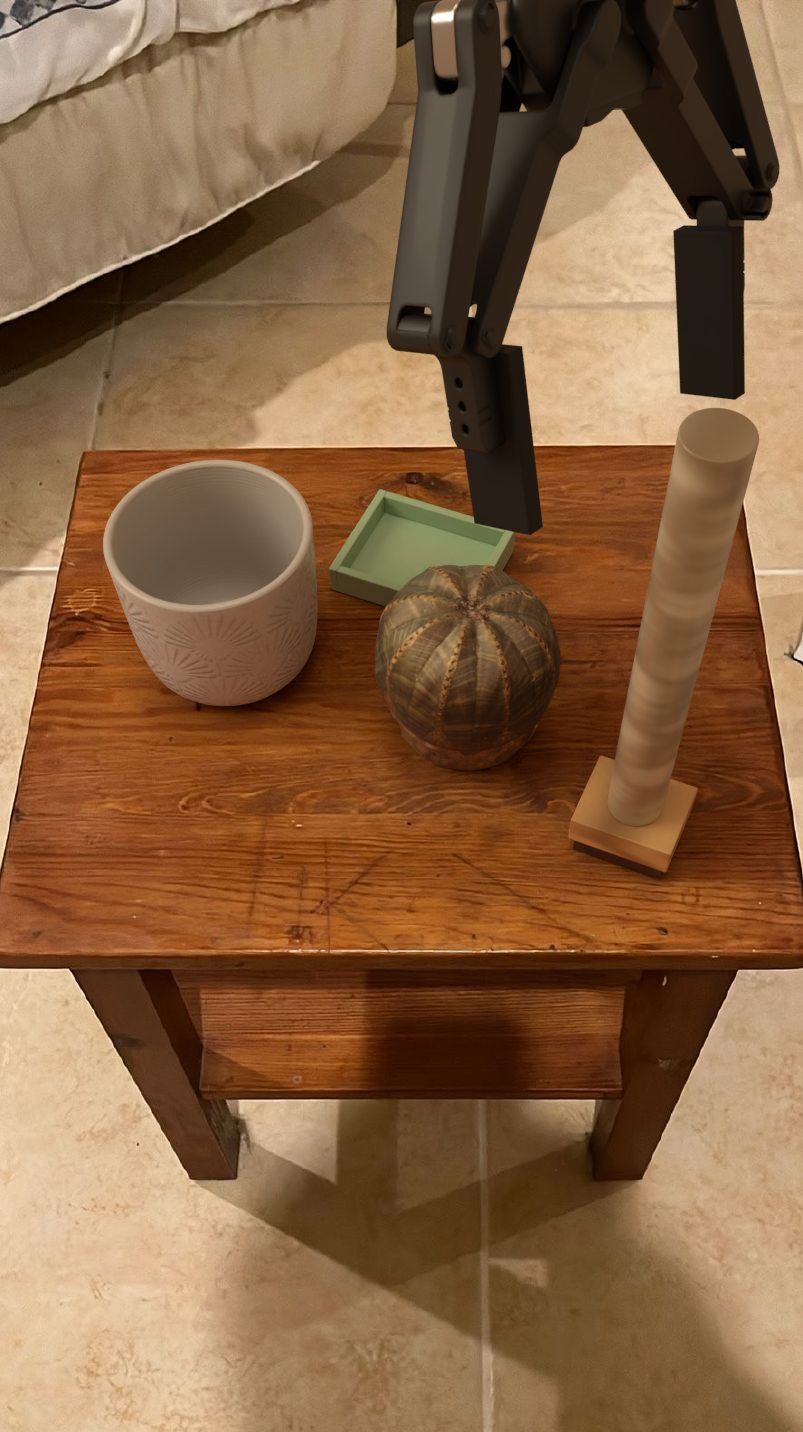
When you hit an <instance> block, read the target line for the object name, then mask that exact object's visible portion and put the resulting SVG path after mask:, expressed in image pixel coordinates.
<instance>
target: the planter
mask: <svg viewBox="0 0 803 1432" xmlns="http://www.w3.org/2000/svg"><path fill="white" fill-rule="evenodd" d="M313 529H314V528H313V519H312V514H311V511H310V509H309V506H308V504H307V502H306V500H305V498H304V497H303V496H302V493H300V491H299V490H298V489H297V487H295V486H294V485H293V484H291V482H290V481H288V480H287V479H286V478H284V477H282V476H281V475H279V474H278V473H276V472H274V471H272V470H271V469H268V468H265V467H263V466H260V465H257V464H254V463H250V462H246V461H241V460H233V459H204V460H203V459H202V460H196V461H191V462H186V463H182V464H179V465H175V466H172V467H169V468H167V469H163V470H161V471H159V472H157V473H155V474H153V475H151V476H150V477H148V478H146V479H144V480H143V481H141V482H140V483H138V484H137V485H135V486H134V487H133V488H132V489H131V490H129V491H128V492H127V493H126V494H125V495H124V496H123V497H122V498H121V499H120V501H119V502H118V504H116V506H115V507H114V509H113V510H112V512H111V513H110V516H109V517H108V520H107V522H106V525H105V528H104V531H103V541H102V547H103V549H102V551H103V556H104V561H105V563H106V566H107V568H108V571H109V574H110V577H111V580H112V582H113V585H114V588H115V590H116V594H117V596H118V599H119V602H120V605H121V608H122V610H123V613H124V615H125V618H126V621H127V623H128V626H129V629H130V631H131V633H132V635H133V638H134V640H135V643H136V645H137V647H138V649H139V651H140V653H141V655H142V657H143V659H144V661H145V662H146V664H147V665H148V667H149V669H150V670H151V671H152V672H153V673H154V675H155V677H157V679H158V680H159V681H160V682H161V683H162V684H163V685H164V686H166V687H167V688H168V689H169V690H171V691H172V692H174V693H175V694H177V695H178V696H180V697H182V698H184V699H187V700H190V701H192V702H195V703H198V704H203V705H208V706H214V707H215V706H216V707H235V706H236V707H237V706H242V705H247V704H251V703H254V702H259V701H261V700H263V699H265V698H268V697H269V696H270V697H271V696H272V695H274V694H275V693H277V692H278V691H280V690H282V689H283V688H284V687H286V686H287V685H288V684H289V683H291V682H292V681H293V680H294V679H295V678H296V677H297V676H298V675H299V673H300V672H301V671H302V669H303V668H304V667H305V665H306V663H307V662H308V660H309V657H310V656H311V653H312V650H313V648H314V645H315V644H314V643H315V640H316V635H317V627H318V608H319V607H318V604H319V603H318V582H317V581H318V580H317V568H316V567H317V566H316V553H315V543H314V542H315V540H314V530H313Z"/></svg>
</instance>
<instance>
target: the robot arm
mask: <svg viewBox="0 0 803 1432" xmlns="http://www.w3.org/2000/svg"><path fill="white" fill-rule="evenodd" d="M412 20H413V23H412V25H413V26H412V29H413V42H414V43H413V44H414V56H415V69H416V83H417V98H416V104H415V112H414V113H415V114H414V120H413V128H412V134H411V143H410V150H409V157H408V165H407V171H406V172H407V173H406V179H405V189H404V193H403V195H404V196H403V201H402V202H403V203H402V210H401V217H400V224H399V226H400V227H399V233H398V240H397V247H396V254H395V262H394V272H393V276H392V277H393V278H392V285H391V292H390V300H389V307H388V314H387V322H386V339H387V343H388V345H389V346H390V348H391V349H393V350H394V351H396V352H402V353H403V352H404V353H412V354H421V355H423V354H424V355H431V356H434V357H435V358H436V359H437V361H438V362H439V365H440V369H441V375H442V381H443V388H444V394H445V401H446V406H447V408H448V409H447V413H448V414H447V415H448V419H449V420H450V421H449V427H450V432H451V437H452V439H453V441H454V444H455V445H456V448H457V449H460V450H463V457H464V462H465V468H466V469H465V470H466V476H467V483H468V490H469V496H470V502H471V510H472V517H474V523H475V524H479V525H484V526H489V527H493V528H498V529H503V530H507V531H512V532H515V533H518V534H522V535H526V536H532V535H533V534H534V533H536V532H537V531H539V530H540V529H543V527H544V524H543V516H542V506H541V498H540V489H539V481H538V471H537V463H536V462H537V461H536V455H535V447H534V446H535V445H534V436H533V429H532V421H531V413H530V402H529V394H528V393H529V392H528V385H527V377H526V375H527V374H526V368H525V358H524V350H523V349H524V348H523V346H522V345H514V344H505V343H504V340H505V337H506V333H507V330H508V327H509V323H510V321H511V317H512V314H513V312H514V308H515V305H516V302H517V299H518V295H519V293H520V289H521V286H522V283H523V279H524V277H525V274H526V271H527V267H528V264H529V262H530V261H529V260H530V257H531V255H532V251H533V249H534V245H535V242H536V239H537V236H538V234H539V233H538V232H539V229H540V226H541V223H542V219H543V217H544V213H545V210H546V207H547V204H548V201H549V197H550V194H551V191H552V188H553V185H554V181H555V179H556V176H557V173H558V169H559V167H560V163H561V161H562V158H564V156H565V155H567V154H568V153H569V152H571V151H572V150H574V148H575V147H576V146H577V145H578V143H579V140H580V139H581V135H582V132H583V128H589V127H591V126H593V125H596V124H597V123H600V122H603V120H604V119H606V118H607V117H608V116H609V114H611V113H612V112H613V111H619V110H620V111H621V112H622V113H623V115H624V116H625V118H626V119H627V121H628V122H629V125H630V126H631V128H632V129H633V130H634V132H635V134H636V136H637V137H638V139H639V140H640V142H641V144H642V145H643V147H644V148H645V150H646V152H647V153H648V155H649V156H650V158H651V159H652V161H653V163H654V165H655V166H656V167H657V169H658V171H659V173H660V174H661V176H662V177H663V179H664V180H665V182H666V184H667V185H668V187H669V188H670V190H671V192H672V194H673V195H674V197H675V198H676V200H677V202H678V203H679V204H680V206H681V208H682V210H683V211H684V213H685V214H686V217H687V218H689V219H690V220H694V221H695V220H696V225H691V224H690V225H686V224H684V225H681V226H679V227H678V228H676V229H674V230H672V233H673V235H672V236H673V256H674V257H673V258H674V261H673V262H674V282H675V304H676V307H675V308H676V326H677V327H676V330H677V331H676V332H677V351H678V352H677V353H678V374H679V375H678V376H679V377H678V378H679V394H680V395H681V394H682V395H690V396H697V397H708V398H716V399H725V400H733V401H736V400H737V399H739V398H741V397H742V396H743V395H745V393H746V376H745V375H746V371H745V369H746V368H745V366H746V365H745V363H746V362H745V288H746V276H745V275H746V273H745V270H746V267H745V264H746V263H745V262H744V261H745V259H746V257H745V221H747V222H749V221H751V222H752V221H753V222H754V221H755V222H758V221H759V222H764V221H765V220H767V219H768V217H769V216H770V214H771V211H772V207H773V192H772V190H773V188H774V187H775V186H776V184H777V182H778V180H779V177H780V160H779V156H778V153H777V150H776V145H775V141H774V139H773V134H772V130H771V127H770V123H769V119H768V116H767V112H766V107H765V105H764V101H763V97H762V93H761V89H760V86H759V83H758V79H757V75H756V71H755V67H754V63H753V60H752V56H751V52H750V49H749V44H748V41H747V37H746V33H745V30H744V26H743V23H742V18H741V14H740V11H739V7H738V4H737V0H432V1H424V2H422V3H421V4H419V5H418V6H417V8H416V9H415V12H414V16H413V19H412ZM522 106H523V107H524V109H525V110H522V111H521V108H522ZM733 150H743V151H744V154H743V155H742V154H740V155H737V154H735V152H734V151H733ZM474 305H476V309H475V310H476V311H475V313H474V316H470V309H471V308H472V307H473V306H474ZM427 308H428V309H429V311H430V313H425V311H426V309H427Z"/></svg>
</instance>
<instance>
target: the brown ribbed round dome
mask: <svg viewBox="0 0 803 1432" xmlns="http://www.w3.org/2000/svg"><path fill="white" fill-rule="evenodd" d="M384 607H385V606H384ZM377 629H378V630H377V634H376V638H375V646H374V663H375V664H374V671H373V672H374V673H373V675H374V679H375V682H376V684H377V686H378V688H379V690H380V691H381V694H382V697H383V698H384V700H385V702H386V704H387V705H386V708H387V710H388V711H390V713H391V714H392V715H391V718H393V719H394V720H395V721H396V722H397V724H398V727H399V730H400V737H401V738H402V739H404V740H405V741H406V742H407V743H408V744H409V745H410V746H411V748H412V749H413V750H414V751H415V752H416V753H417V754H418V755H420V756H421V757H422V758H423V759H424V760H425V761H426V760H427V761H428V762H430V763H433V764H434V765H436V766H437V767H440V768H444V769H453V770H460V771H477V770H484V769H489V768H492V767H495V766H498V765H500V764H502V763H504V762H506V761H508V760H509V759H511V757H513V756H514V755H515V754H516V753H518V751H519V750H520V749H521V748H522V747H525V746H526V745H527V744H528V742H529V741H530V740H531V738H532V737H533V734H534V733H535V732H536V729H537V728H539V725H538V724H539V723H540V721H541V720H542V718H543V716H544V715H545V713H546V711H547V710H548V708H549V705H550V704H551V702H552V700H553V698H554V695H555V691H556V689H557V686H558V683H559V679H560V674H561V664H562V663H561V662H562V654H561V653H562V651H561V648H560V642H559V638H558V636H557V633H556V630H555V626H554V623H553V621H552V619H551V616H550V613H549V610H548V607H547V605H546V603H544V601H542V600H541V597H539V596H537V595H536V594H535V593H534V592H533V591H532V590H531V589H530V588H528V587H526V586H524V585H521V584H520V582H519V581H518V580H517V579H516V578H515V577H514V576H512V575H510V574H508V573H507V572H505V571H504V570H503V571H501V570H498V569H497V568H495V567H494V566H492V565H468V566H456V565H442V566H430V567H428V568H427V569H426V570H425V571H424V572H422V573H420V574H419V575H417V576H415V577H414V578H412V579H410V580H409V581H408V582H407V583H406V584H405V586H404V587H403V588H402V589H401V590H399V591H398V592H397V593H396V594H395V595H394V597H393V598H392V600H391V601H390V603H389V604H388V605H387V606H386V607H385V608H384V609H383V611H382V613H381V614H380V618H379V622H378V628H377Z"/></svg>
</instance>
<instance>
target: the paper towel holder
mask: <svg viewBox="0 0 803 1432" xmlns="http://www.w3.org/2000/svg"><path fill="white" fill-rule="evenodd" d="M674 444H675V445H674V451H673V456H672V461H671V466H670V471H669V476H668V480H667V481H668V483H667V487H666V492H665V496H664V502H663V508H662V514H661V516H660V517H661V518H660V523H659V527H658V528H659V529H658V534H657V538H656V544H655V548H654V554H653V559H652V565H651V569H650V575H649V580H648V585H647V590H646V595H645V600H644V606H643V610H642V616H641V622H640V627H639V633H638V637H637V641H636V648H635V653H634V658H633V663H632V668H631V673H630V679H629V683H628V689H627V694H626V699H625V700H626V701H625V705H624V710H623V713H622V720H621V725H620V730H619V735H618V740H617V746H616V751H615V755H614V756H615V757H614V759H613V758H610V757H607V756H605V755H599V757H598V759H597V761H596V764H595V765H594V768H593V770H592V772H591V774H590V777H589V779H588V781H587V783H586V785H585V788H584V790H583V791H582V794H581V797H580V799H579V801H578V803H577V805H576V807H575V809H574V812H573V814H572V816H571V818H570V822H569V829H568V839H569V840H572V841H573V843H572V850H573V851H576V852H579V853H582V854H585V855H588V856H590V857H593V858H596V859H599V860H601V861H604V862H607V863H610V864H613V865H615V866H618V867H621V868H624V869H627V870H629V871H632V872H635V873H638V874H641V875H643V876H646V877H648V878H649V877H650V878H652V879H654V880H660V879H661V877H662V874H663V873H666V872H667V871H668V869H669V867H670V864H671V862H672V859H673V857H674V854H675V851H676V850H677V848H678V844H679V842H680V839H681V837H682V834H683V833H684V829H685V828H686V825H687V822H688V819H689V817H690V815H691V812H692V809H693V808H694V807H693V806H694V803H695V801H696V797H697V793H698V789H699V788H698V787H696V786H693V785H690V784H688V783H684V782H681V781H678V780H676V779H673V778H672V775H673V771H674V769H675V768H674V767H675V763H676V761H677V757H678V752H679V748H680V744H681V741H682V737H683V733H684V730H685V726H686V723H687V722H686V721H687V717H688V714H689V710H690V706H691V702H692V699H693V695H694V692H695V687H696V683H697V681H698V680H697V679H698V677H699V672H700V668H701V665H702V661H703V658H704V654H705V649H706V647H707V642H708V637H709V635H710V630H711V626H712V622H713V620H714V615H715V611H716V607H717V603H718V600H719V597H720V592H721V588H722V585H723V580H724V577H725V573H726V569H727V565H728V562H729V558H730V554H731V550H732V546H733V543H734V539H735V535H736V531H737V529H738V528H737V527H738V524H739V520H740V516H741V512H742V509H743V505H744V502H745V501H744V500H745V497H746V493H747V488H748V485H749V481H750V478H751V475H752V471H753V466H754V463H755V459H756V455H757V452H758V447H759V444H760V434H759V431H758V428H757V426H756V425H755V424H754V422H753V421H752V420H751V419H750V418H748V417H747V416H745V414H742V413H740V412H738V411H736V410H732V409H727V408H725V407H724V408H723V407H707V408H702V409H698V410H696V411H694V412H692V413H690V414H689V415H687V416H686V417H685V418H684V419H683V420H682V421H681V422H680V424H679V426H678V429H677V435H676V440H675V443H674Z"/></svg>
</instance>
